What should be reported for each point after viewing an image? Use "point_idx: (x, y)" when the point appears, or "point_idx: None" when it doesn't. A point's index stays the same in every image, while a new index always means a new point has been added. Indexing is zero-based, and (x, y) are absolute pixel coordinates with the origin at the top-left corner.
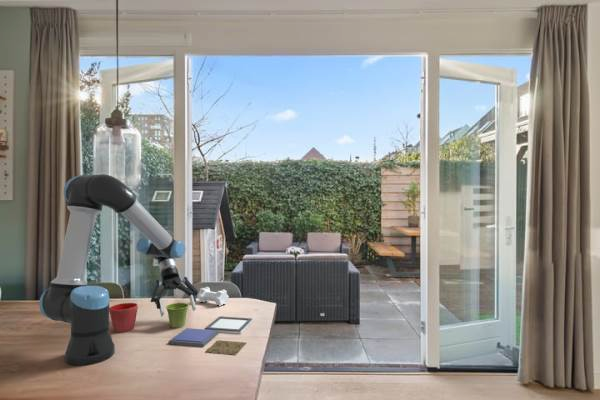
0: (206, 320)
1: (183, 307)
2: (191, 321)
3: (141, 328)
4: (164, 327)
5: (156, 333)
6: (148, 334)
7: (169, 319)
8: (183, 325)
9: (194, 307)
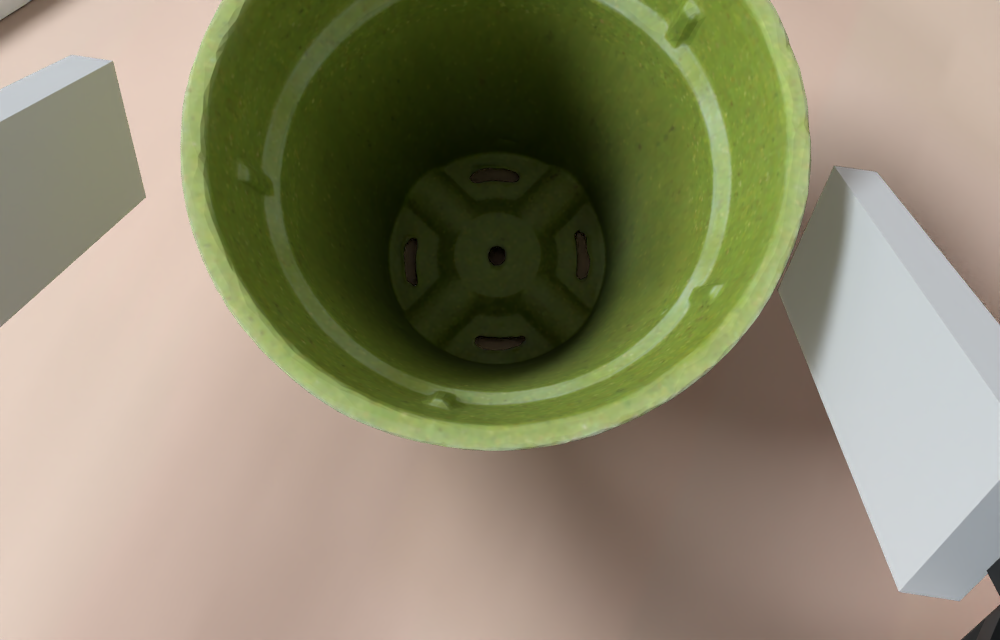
0: None
1: (290, 266)
2: None
3: None
4: None
5: (856, 163)
6: (958, 200)
7: (651, 229)
8: (444, 155)
9: (106, 60)
